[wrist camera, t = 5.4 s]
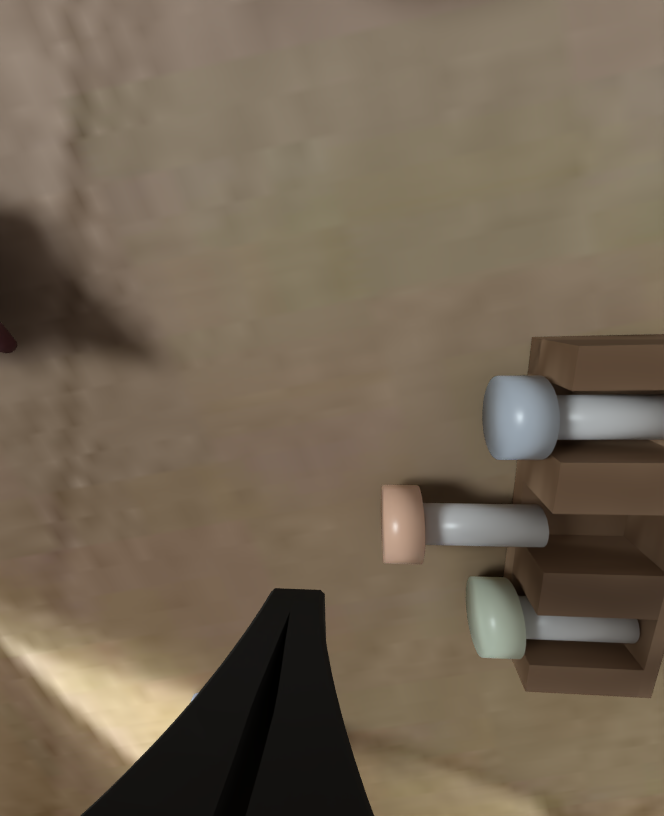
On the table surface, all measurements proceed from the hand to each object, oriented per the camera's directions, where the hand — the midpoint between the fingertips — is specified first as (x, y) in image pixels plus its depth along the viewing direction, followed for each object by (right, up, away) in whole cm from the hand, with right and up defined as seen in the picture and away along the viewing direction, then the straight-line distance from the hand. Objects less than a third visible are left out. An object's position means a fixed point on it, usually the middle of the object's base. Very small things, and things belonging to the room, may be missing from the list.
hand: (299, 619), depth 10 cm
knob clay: (+7, +1, +8) cm, 11 cm away
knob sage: (+11, -4, +9) cm, 15 cm away
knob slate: (+11, +6, +7) cm, 14 cm away
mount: (+13, +1, +8) cm, 15 cm away
